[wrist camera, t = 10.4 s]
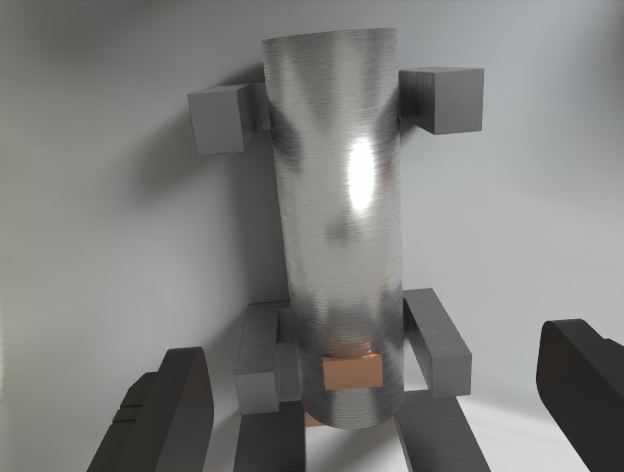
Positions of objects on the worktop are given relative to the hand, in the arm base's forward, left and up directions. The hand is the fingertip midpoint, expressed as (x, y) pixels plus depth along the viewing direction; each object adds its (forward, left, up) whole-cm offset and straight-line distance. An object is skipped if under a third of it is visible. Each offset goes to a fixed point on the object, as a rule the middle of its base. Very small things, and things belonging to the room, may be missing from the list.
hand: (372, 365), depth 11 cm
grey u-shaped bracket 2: (+6, 0, -13) cm, 14 cm away
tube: (0, 0, -12) cm, 12 cm away
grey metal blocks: (-5, 0, -13) cm, 14 cm away
